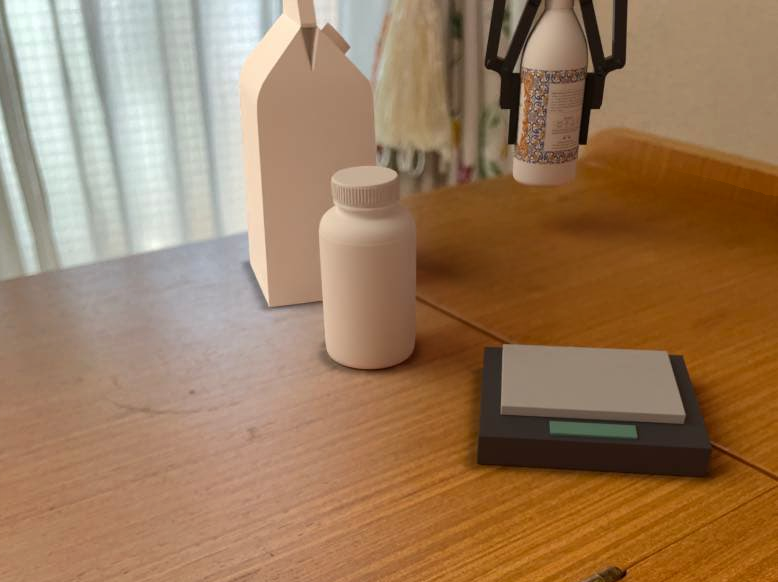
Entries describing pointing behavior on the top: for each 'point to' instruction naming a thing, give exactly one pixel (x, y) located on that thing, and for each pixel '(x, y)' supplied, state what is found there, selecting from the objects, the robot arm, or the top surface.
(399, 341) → the pill bottle
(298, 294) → the milk
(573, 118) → the bath foam
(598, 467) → the scale
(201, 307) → the top surface
